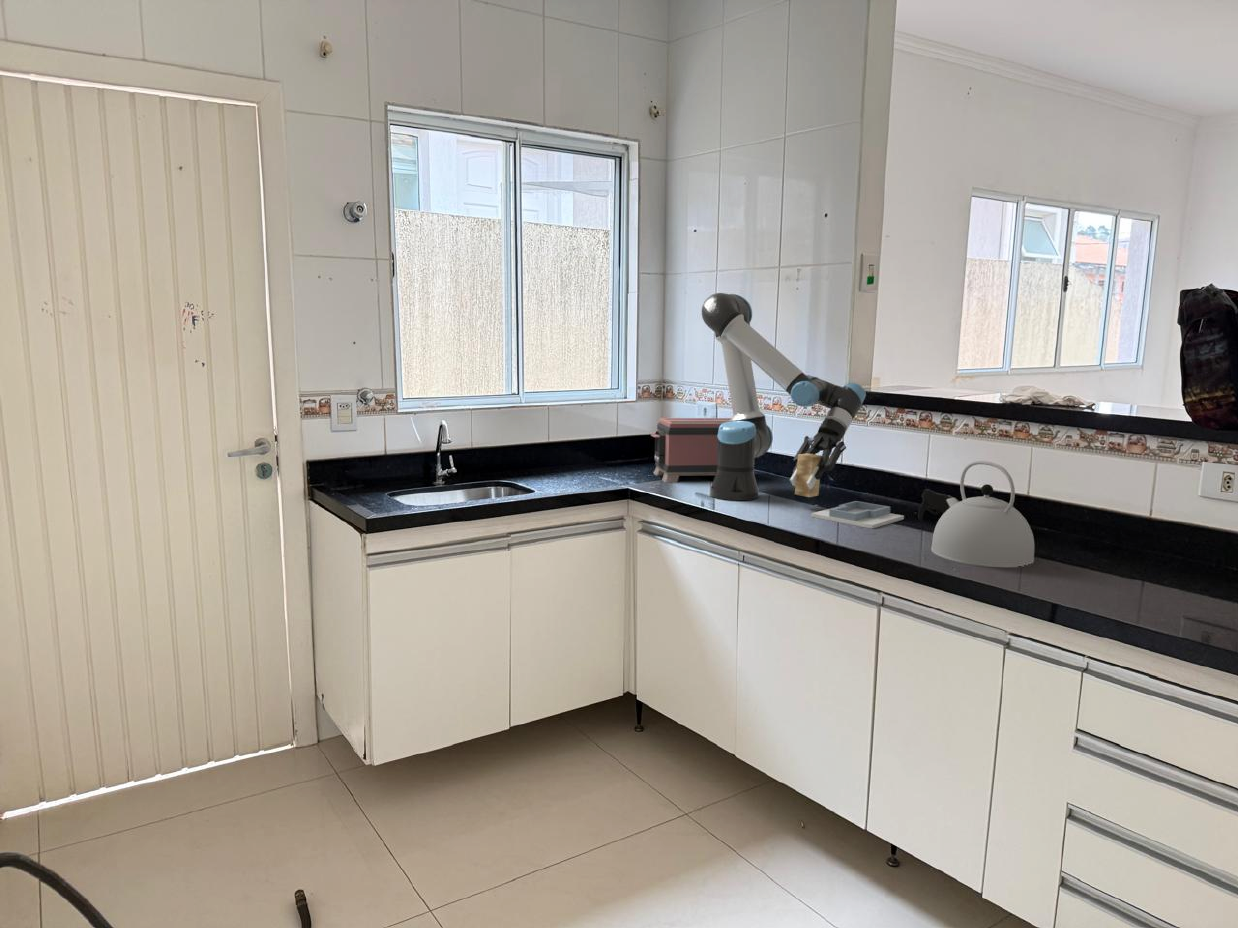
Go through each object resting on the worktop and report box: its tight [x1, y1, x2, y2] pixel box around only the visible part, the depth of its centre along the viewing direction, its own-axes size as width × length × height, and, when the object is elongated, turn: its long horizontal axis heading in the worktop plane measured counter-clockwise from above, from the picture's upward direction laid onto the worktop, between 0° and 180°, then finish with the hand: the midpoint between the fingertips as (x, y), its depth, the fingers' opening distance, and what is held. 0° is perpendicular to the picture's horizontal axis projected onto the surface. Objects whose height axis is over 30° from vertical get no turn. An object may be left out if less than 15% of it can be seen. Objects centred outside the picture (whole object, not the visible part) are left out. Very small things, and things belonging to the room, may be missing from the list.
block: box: [794, 453, 822, 498], centre depth 250 cm, size 5×5×12 cm
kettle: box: [930, 460, 1035, 568], centre depth 201 cm, size 25×23×23 cm
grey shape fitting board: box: [810, 500, 905, 529], centre depth 239 cm, size 19×18×3 cm
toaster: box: [650, 417, 732, 484], centre depth 301 cm, size 19×34×21 cm, turn 100°
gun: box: [917, 488, 960, 522], centre depth 236 cm, size 3×16×10 cm, turn 79°
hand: (800, 484), depth 248 cm, fingers closed on block, 5 cm apart
